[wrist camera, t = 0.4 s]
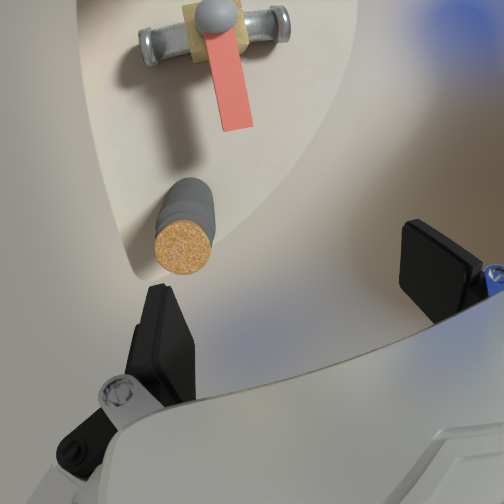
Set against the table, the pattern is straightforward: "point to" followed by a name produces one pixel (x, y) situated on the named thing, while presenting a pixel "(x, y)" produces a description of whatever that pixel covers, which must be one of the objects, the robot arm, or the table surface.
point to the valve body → (191, 41)
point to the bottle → (185, 227)
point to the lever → (224, 61)
